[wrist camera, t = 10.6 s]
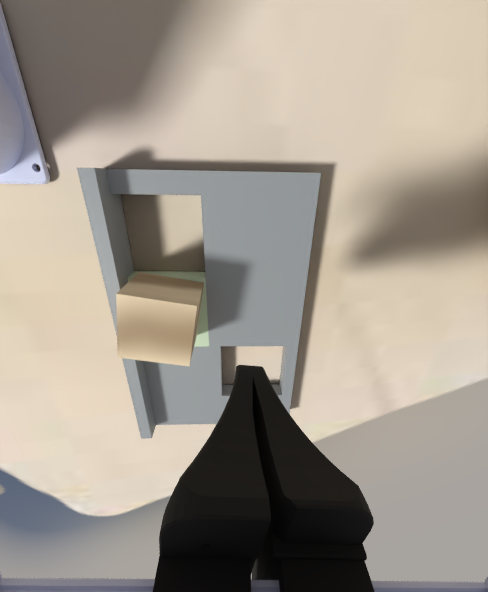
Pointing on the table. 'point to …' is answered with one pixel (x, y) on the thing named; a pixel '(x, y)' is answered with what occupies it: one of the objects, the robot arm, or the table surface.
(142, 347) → the block
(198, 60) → the table surface
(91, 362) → the table surface
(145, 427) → the tray
